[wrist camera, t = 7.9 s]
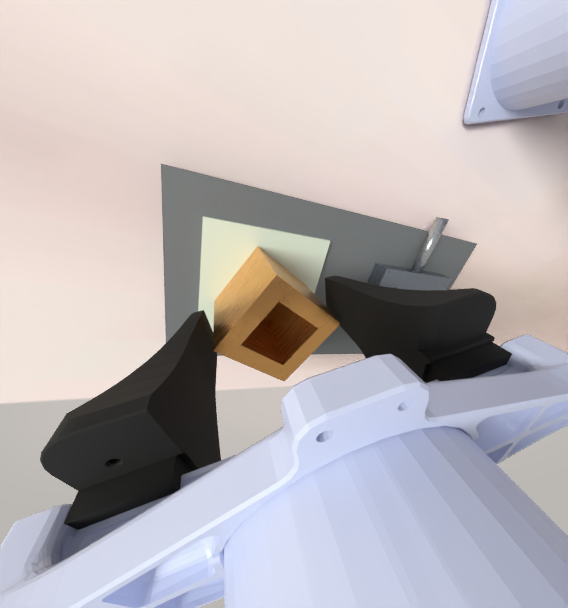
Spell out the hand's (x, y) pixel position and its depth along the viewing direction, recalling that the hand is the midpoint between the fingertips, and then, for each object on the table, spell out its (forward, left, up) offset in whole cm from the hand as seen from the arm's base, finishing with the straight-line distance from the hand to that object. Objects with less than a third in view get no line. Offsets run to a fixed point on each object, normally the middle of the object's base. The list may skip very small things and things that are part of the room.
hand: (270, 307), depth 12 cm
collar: (0, 0, -2) cm, 3 cm away
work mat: (-6, +2, -4) cm, 7 cm away
